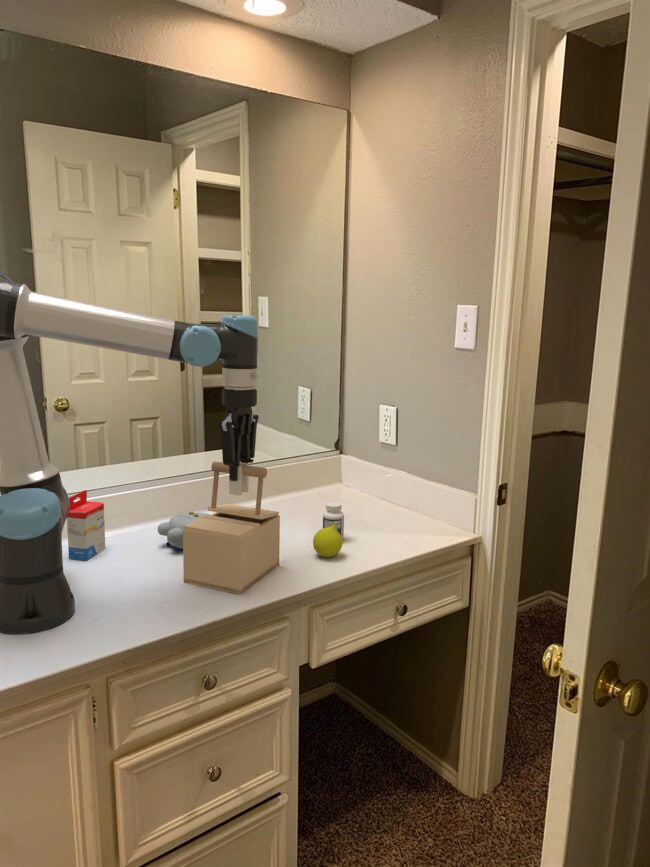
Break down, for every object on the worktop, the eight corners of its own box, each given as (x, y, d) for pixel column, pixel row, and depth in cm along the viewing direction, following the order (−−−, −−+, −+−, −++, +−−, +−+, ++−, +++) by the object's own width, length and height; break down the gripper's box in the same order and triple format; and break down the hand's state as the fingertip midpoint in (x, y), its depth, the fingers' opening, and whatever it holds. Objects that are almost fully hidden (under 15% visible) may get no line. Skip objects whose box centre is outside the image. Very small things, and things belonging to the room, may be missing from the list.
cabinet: (240, 594, 136) (240, 535, 134) (183, 582, 141) (182, 525, 139) (279, 564, 152) (279, 511, 150) (227, 554, 158) (227, 503, 155)
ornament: (347, 559, 157) (348, 519, 155) (320, 563, 154) (321, 523, 152) (333, 549, 163) (334, 510, 161) (307, 553, 160) (308, 514, 158)
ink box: (87, 561, 152) (84, 500, 149) (67, 559, 153) (64, 498, 150) (106, 548, 160) (104, 490, 157) (88, 546, 161) (85, 488, 158)
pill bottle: (328, 535, 173) (329, 499, 171) (346, 539, 171) (347, 502, 169) (318, 541, 169) (319, 504, 167) (337, 545, 166) (338, 508, 164)
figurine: (177, 561, 152) (250, 552, 165) (180, 525, 151) (253, 519, 164) (146, 540, 165) (216, 533, 178) (149, 507, 164) (219, 502, 177)
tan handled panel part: (227, 507, 155) (231, 460, 155) (278, 515, 150) (282, 466, 150) (206, 510, 147) (210, 461, 146) (259, 519, 141) (264, 468, 141)
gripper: (236, 392, 133) (235, 503, 137) (271, 385, 147) (270, 487, 151) (205, 389, 136) (205, 498, 140) (242, 383, 150) (241, 483, 154)
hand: (238, 492), depth 146 cm, fingers open, 2 cm apart
